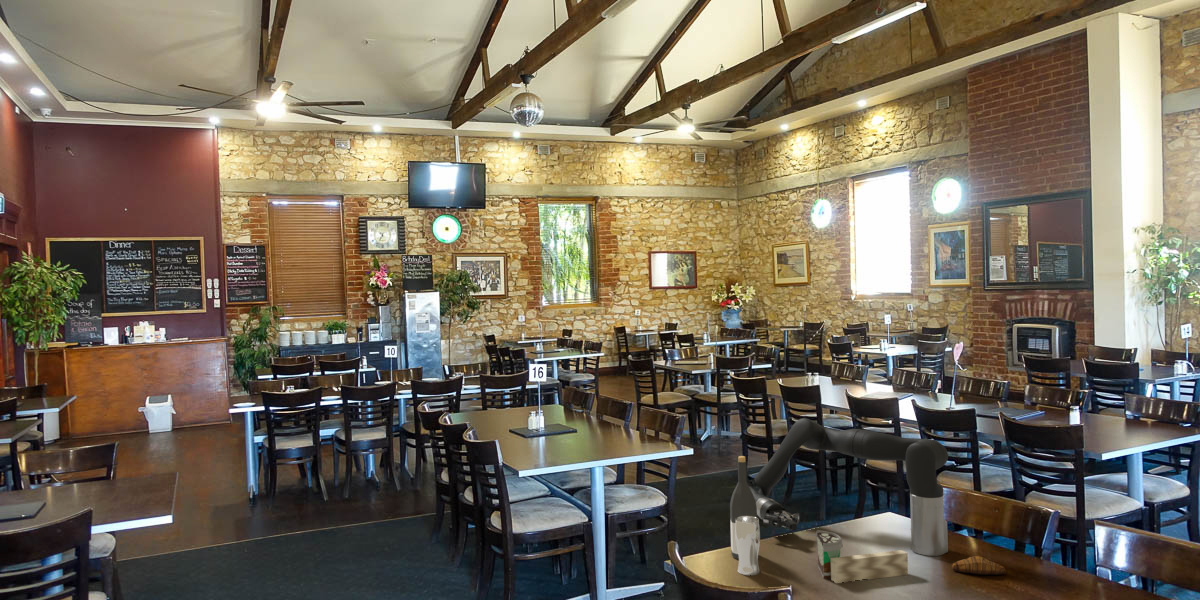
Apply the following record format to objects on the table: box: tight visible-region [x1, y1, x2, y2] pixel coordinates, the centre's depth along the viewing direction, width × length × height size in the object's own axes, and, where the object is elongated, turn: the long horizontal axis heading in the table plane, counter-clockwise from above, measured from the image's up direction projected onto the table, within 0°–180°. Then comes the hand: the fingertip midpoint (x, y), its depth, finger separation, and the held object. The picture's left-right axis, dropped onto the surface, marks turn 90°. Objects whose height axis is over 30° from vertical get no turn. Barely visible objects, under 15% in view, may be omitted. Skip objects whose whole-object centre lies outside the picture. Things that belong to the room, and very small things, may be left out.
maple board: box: [830, 550, 909, 584], centre depth 202 cm, size 22×2×6 cm, turn 102°
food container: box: [815, 530, 844, 579], centre depth 206 cm, size 12×6×10 cm, turn 173°
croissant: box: [951, 554, 1006, 576], centre depth 203 cm, size 14×7×5 cm, turn 75°
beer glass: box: [735, 516, 761, 576], centre depth 209 cm, size 7×7×15 cm
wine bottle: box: [729, 455, 758, 560], centre depth 221 cm, size 8×8×30 cm
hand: (794, 527), depth 228 cm, fingers closed
